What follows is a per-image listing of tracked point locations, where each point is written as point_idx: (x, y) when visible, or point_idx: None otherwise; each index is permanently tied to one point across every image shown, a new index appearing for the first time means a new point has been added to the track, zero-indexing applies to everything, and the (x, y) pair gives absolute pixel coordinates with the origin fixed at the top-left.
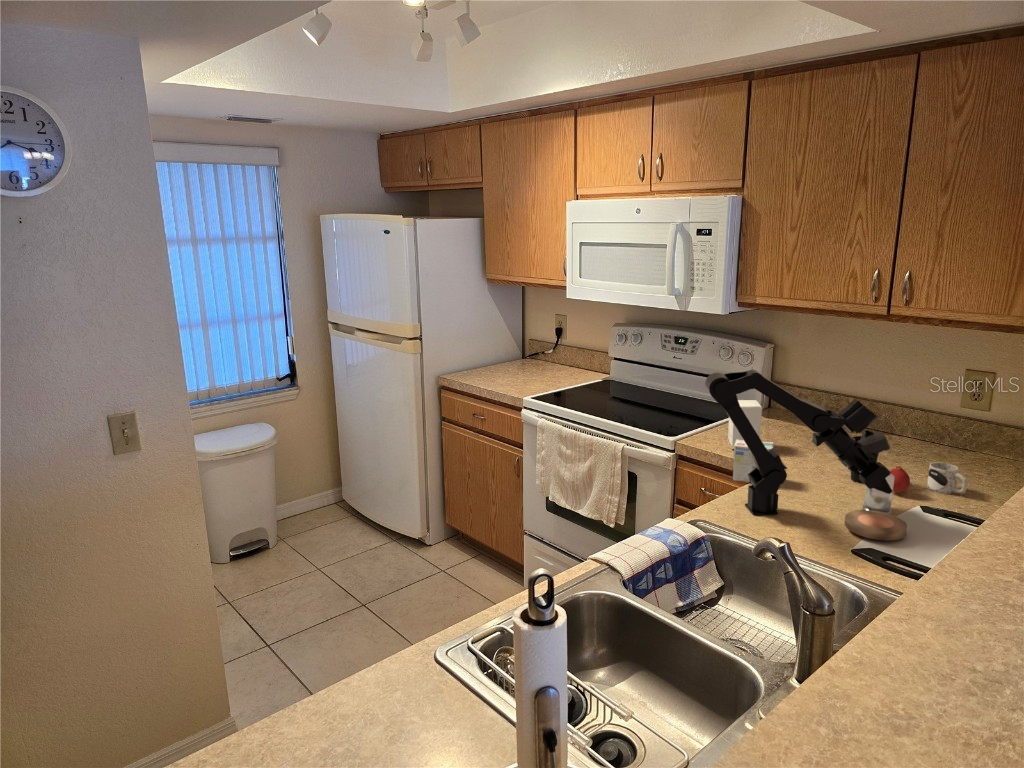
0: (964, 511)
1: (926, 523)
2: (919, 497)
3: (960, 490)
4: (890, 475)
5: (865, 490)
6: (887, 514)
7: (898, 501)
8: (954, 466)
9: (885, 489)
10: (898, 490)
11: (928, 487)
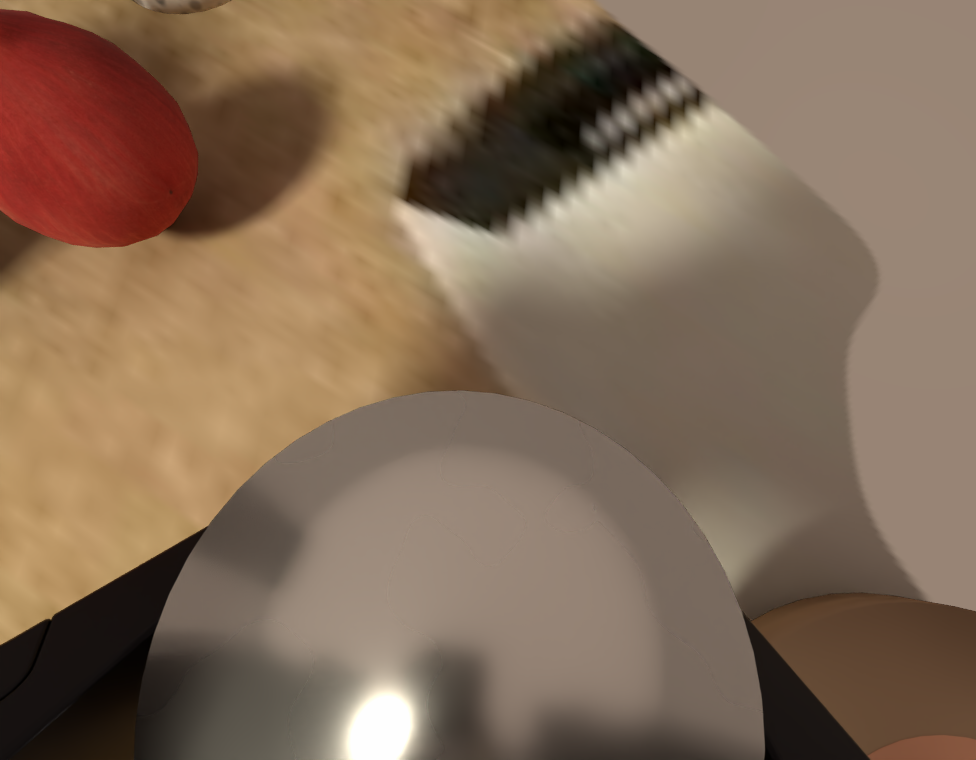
0: (517, 24)
1: (688, 323)
2: (271, 126)
3: None
4: (501, 461)
5: None
6: None
7: (301, 286)
8: None
9: None
10: (183, 207)
11: (159, 2)
